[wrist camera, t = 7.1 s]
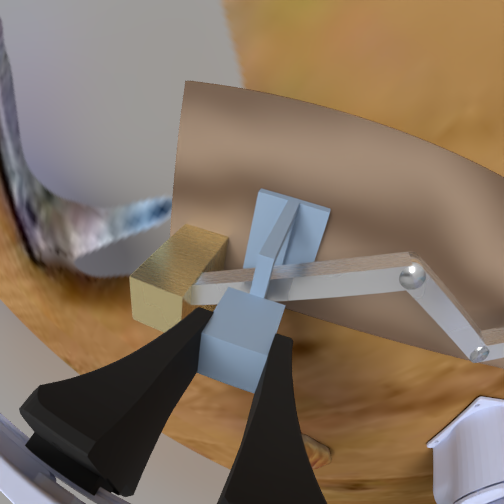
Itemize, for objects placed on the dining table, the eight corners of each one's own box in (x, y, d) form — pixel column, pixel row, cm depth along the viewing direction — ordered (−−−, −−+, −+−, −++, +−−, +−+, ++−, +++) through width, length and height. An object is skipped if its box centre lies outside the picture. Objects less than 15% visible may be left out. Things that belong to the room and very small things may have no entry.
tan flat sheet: (531, 370, 18) (532, 375, 18) (171, 265, 23) (168, 268, 23) (610, 249, 12) (613, 252, 11) (189, 80, 16) (185, 80, 16)
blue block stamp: (331, 207, 17) (308, 323, 9) (302, 294, 20) (264, 421, 12) (261, 186, 18) (182, 281, 10) (243, 275, 21) (177, 389, 13)
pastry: (343, 440, 29) (339, 470, 26) (319, 460, 33) (313, 486, 30) (263, 416, 30) (253, 446, 27) (248, 439, 34) (239, 464, 31)
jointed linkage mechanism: (583, 312, 14) (613, 367, 9) (184, 270, 23) (135, 328, 17) (608, 253, 11) (649, 302, 6) (173, 197, 20) (111, 243, 15)
